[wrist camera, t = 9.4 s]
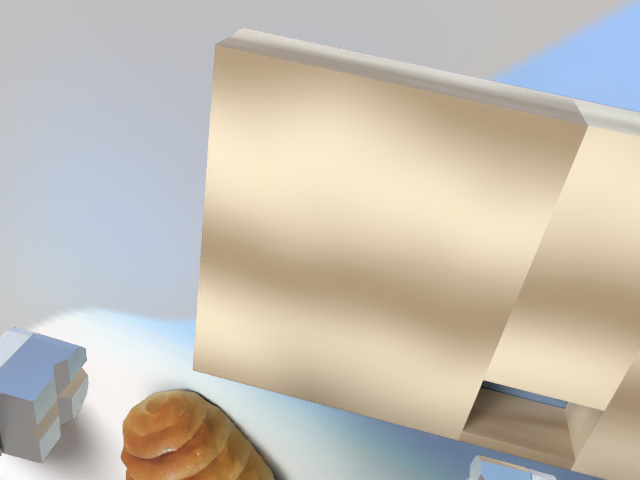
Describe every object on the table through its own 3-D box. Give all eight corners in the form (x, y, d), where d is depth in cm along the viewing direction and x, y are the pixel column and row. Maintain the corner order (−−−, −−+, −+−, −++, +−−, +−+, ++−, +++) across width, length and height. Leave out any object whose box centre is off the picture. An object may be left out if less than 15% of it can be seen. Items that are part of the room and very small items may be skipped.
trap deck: (242, 27, 18) (170, 73, 14) (1010, 191, 17) (1230, 308, 12) (215, 329, 25) (159, 431, 20) (771, 472, 23) (854, 622, 18)
